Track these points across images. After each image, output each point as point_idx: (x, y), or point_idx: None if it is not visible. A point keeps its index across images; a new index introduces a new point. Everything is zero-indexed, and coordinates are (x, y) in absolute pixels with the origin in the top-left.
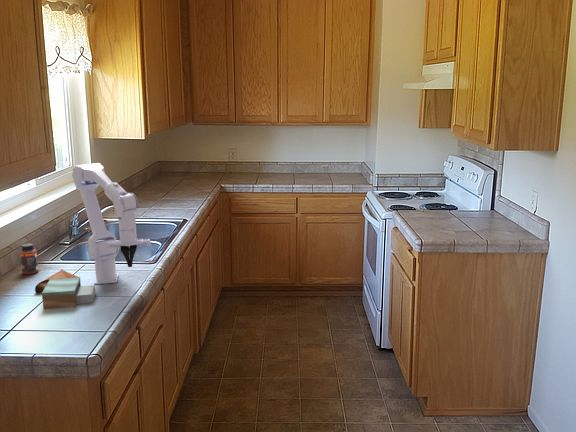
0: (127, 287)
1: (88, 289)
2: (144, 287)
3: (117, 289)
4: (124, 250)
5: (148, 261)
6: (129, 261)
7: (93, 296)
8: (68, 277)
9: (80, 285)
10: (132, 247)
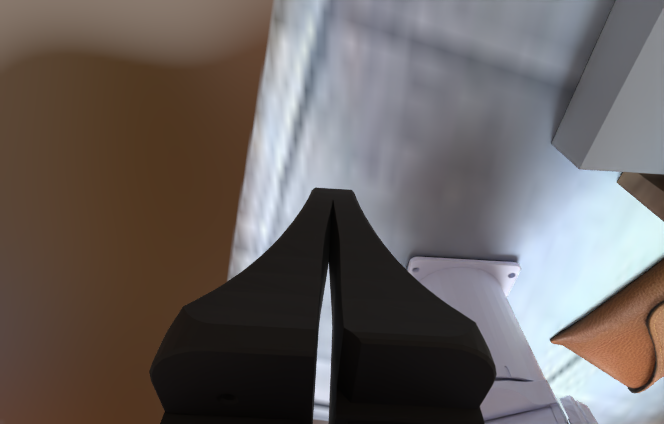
0: (360, 184)
1: (656, 92)
2: (263, 159)
3: (417, 169)
4: (420, 334)
5: None
6: (334, 234)
7: (605, 48)
8: (631, 329)
9: (654, 197)
10: (244, 408)
